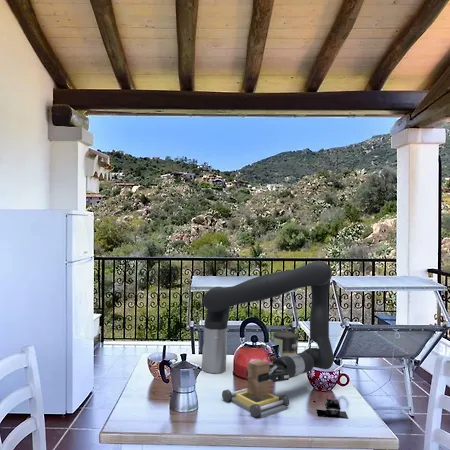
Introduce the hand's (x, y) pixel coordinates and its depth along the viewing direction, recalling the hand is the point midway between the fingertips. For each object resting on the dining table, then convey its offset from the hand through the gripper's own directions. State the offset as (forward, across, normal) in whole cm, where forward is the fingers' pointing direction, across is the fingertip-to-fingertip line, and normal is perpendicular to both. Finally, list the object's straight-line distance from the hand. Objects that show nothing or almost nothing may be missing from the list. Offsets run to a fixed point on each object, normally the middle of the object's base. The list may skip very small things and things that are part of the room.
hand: (252, 376), depth 141 cm
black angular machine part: (-18, +18, +11) cm, 28 cm away
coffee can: (-37, -21, +10) cm, 44 cm away
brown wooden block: (-3, 0, +6) cm, 7 cm away
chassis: (-2, -1, +10) cm, 10 cm away
